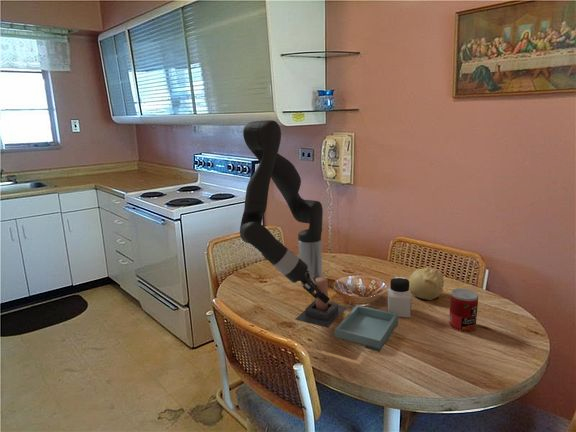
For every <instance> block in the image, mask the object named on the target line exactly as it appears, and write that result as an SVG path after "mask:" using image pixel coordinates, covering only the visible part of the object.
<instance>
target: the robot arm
mask: <svg viewBox="0 0 576 432" xmlns="http://www.w3.org/2000/svg"><path fill="white" fill-rule="evenodd" d="M242 136H243V139H244V142H245V145H246V147H247V148H248V149H249V151H251V153H252V154H253V155H254V156H255V158H256V159H257V160H258V161H259V164H258V165H257V167H256V170H255V171H254V172H253V174H252V176H251V177H250V179H249V181H248V183H247V186H246V191H245V196H244V197H245V198H244V199H245V200H244V208H243V209H244V210H243V213H242V217H241V221H240V226H239V235H240V238H241V240H242V242H244V243H246V244H250V245H251V246H253V247H254V248H255V249H256V250H257V251H259V252H260V253H261V255H262V257H264V259H265V260H267V261H268V262H269V263H270V264H271V265H273V266H274V267H275V269H276V270H277V271H278V272H280V273H281V274H282V275H283V276H284V277H285V278H287V279H288V281H290V282H291V283H292V284H294V283H297V282H301V286H302V288H303V289H304V290H305V291H306V292H308V293H309V295H311V296H312V297H313V298H314V299H315V300H316V299H317V297H318V298H319V299H320V300H321V301H322V302H324V303H325V304H326V303H327V302H330V300H331V299H330V297H329V295H328V296H326V295H325V294H324V293H323V292H322V291H321V290H320V289H319V288H318V284H317V283H316V282H315V279H316V278H319V277H323V270H322V269H323V261H322V259H323V257H322V233H323V215H324V214H323V213H324V210H323V205H322V203H321V201H318V200H313V199H311V200H310V199H304V198H302V197H301V195H300V194H299V192H300V188H301V185H302V178H301V176H300V173H299V172H298V170H297V169H296V166H295V165H294V164H293V163H292V162H291V161H290V160H289V159H287V158H286V157H284V156H282V155H281V154H280V153H279V149H280V146H281V141H282V131H281V127H280V125H279V123H278V122H277V121H276V120H271V119H270V120H269V119H268V120H256V121H254V120H253V121H250V122H247V123H246V124H245V125H244V127H243V130H242ZM271 180H272V182H273V184H274V185H275V186H276V187H277V190H278V191H279V192H280V194H281V195H282V197H283V199H284V201H285V202H286V204H287V206H288V209H289V210H290V212H291V215H292V217H293V218H294V220H295V221H297V222H298V223H303V224H308V225H309V226H308V229H304V230H301V231H299V232H298V234H297V239H298V240H297V241H298V242H297V245H298V255H297V254H296V253H294V252H293V251H292V250H290V249H289V248H288V247H286V246H285V245H284V244H283V243H282V242H281V241H280V240H278V239H277V238H276V237H275V236H274V235H273V234H272V233H271V232H270V231H269V230H268V229H267V228H266V227H265V226H264V225H263V224H262V223H263V218H264V214H265V213H266V211H267V206H268V197H269V190H270V183H271ZM316 291H317V293H316Z"/></svg>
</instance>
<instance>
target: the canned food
mask: <svg viewBox="0 0 576 432" xmlns="http://www.w3.org/2000/svg"><path fill="white" fill-rule="evenodd" d="M478 306H479V294H478V293H477V292H476V291H474V290H472V289H468V288H455V289H452V290H451V293H450V305H449V320H448V321H449V326H450V327H451V326H452V327H451V328H453V329H454V328H455V329H454V330H456V329H458V330H457V331H459V330H461V331H460V332H464V331H469V332H472V330H473V331H474V330H475V328H476V327H477V318H478V317H477V316H478V308H479V307H478Z"/></svg>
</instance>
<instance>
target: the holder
mask: <svg viewBox="0 0 576 432" xmlns="http://www.w3.org/2000/svg"><path fill="white" fill-rule="evenodd" d="M347 309H348V306H345V305H342V304H341V305H340V304H339V303H338V302H337V303H336V302H332V301H328V309H327V310H326V311H323V310H319V309H316V299H315V300H314V301H313V302H311V303H310V304H308V305H307V307H305V310H304V311H302V313H300V314H299V315H298V316H297V317H295V318H294V319H295V321H300V322H304V323H306V324H307V323H308V324H310V325H315V326H318V327H319V326H320V327H323V328H327V329H328V328H330V327H331V326H332V324H333V323H335V321H336V320H337V319H338V318H339V317H340V316H341V315H342V314H343V313H344V312H345V311H346V310H347Z"/></svg>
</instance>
